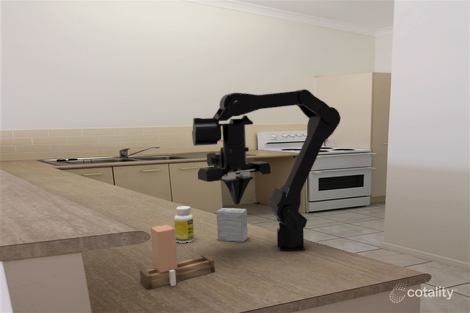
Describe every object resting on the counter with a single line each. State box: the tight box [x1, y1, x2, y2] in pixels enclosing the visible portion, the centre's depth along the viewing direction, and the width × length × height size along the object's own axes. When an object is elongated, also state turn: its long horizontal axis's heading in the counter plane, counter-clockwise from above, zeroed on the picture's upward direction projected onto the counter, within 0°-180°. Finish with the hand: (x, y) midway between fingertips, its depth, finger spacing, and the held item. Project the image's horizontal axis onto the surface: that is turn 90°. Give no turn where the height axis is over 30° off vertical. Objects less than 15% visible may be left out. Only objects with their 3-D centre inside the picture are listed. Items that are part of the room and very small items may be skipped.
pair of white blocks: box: [169, 269, 177, 287], centre depth 91 cm, size 1×8×3 cm, turn 31°
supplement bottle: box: [173, 205, 195, 244], centre depth 118 cm, size 5×5×10 cm
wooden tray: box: [139, 253, 216, 290], centre depth 92 cm, size 16×5×3 cm, turn 121°
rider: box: [150, 224, 178, 273], centre depth 90 cm, size 4×4×10 cm
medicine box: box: [216, 207, 249, 243], centre depth 118 cm, size 8×4×9 cm, turn 71°
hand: (236, 204), depth 105 cm, fingers closed
